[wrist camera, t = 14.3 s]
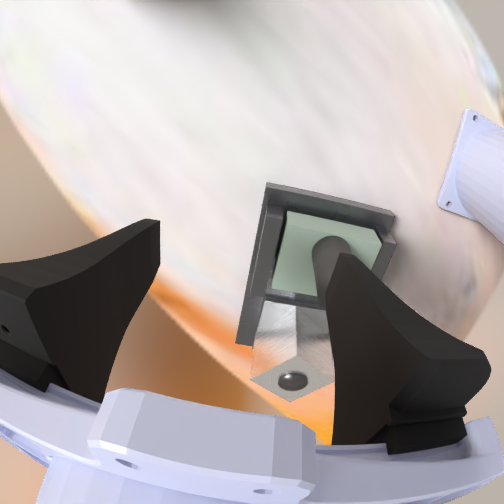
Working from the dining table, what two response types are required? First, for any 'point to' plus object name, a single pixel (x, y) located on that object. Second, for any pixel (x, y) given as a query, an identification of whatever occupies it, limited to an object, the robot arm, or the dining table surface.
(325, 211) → the press
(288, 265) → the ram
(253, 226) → the dining table surface
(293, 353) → the block
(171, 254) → the dining table surface
